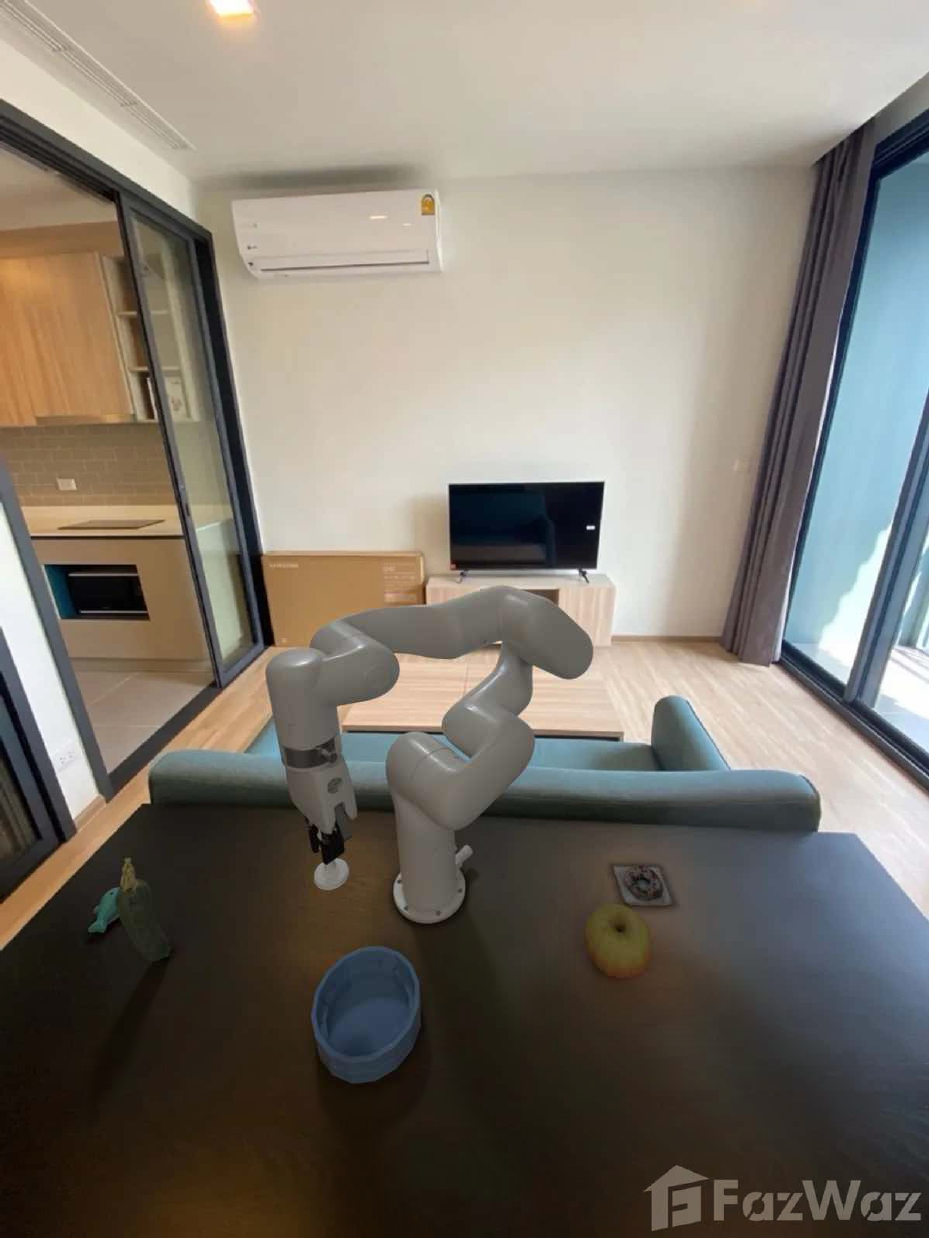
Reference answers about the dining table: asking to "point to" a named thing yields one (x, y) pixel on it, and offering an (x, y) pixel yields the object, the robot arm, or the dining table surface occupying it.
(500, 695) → the robot arm
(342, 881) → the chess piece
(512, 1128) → the dining table surface
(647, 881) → the donut
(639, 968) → the apple
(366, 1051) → the bowl
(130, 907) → the vegetable
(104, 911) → the whale figurine
